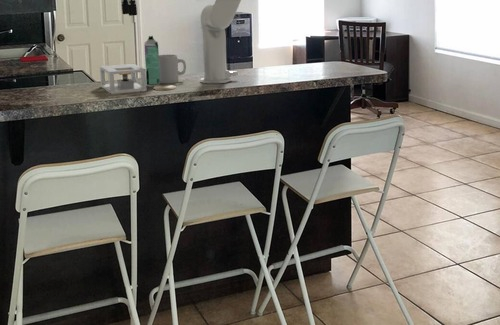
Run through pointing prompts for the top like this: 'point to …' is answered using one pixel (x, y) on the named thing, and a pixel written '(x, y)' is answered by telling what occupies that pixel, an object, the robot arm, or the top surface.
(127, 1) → the robot arm
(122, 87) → the white open box frame
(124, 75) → the button
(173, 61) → the mug
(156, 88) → the coaster
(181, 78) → the top surface
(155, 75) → the spray can
